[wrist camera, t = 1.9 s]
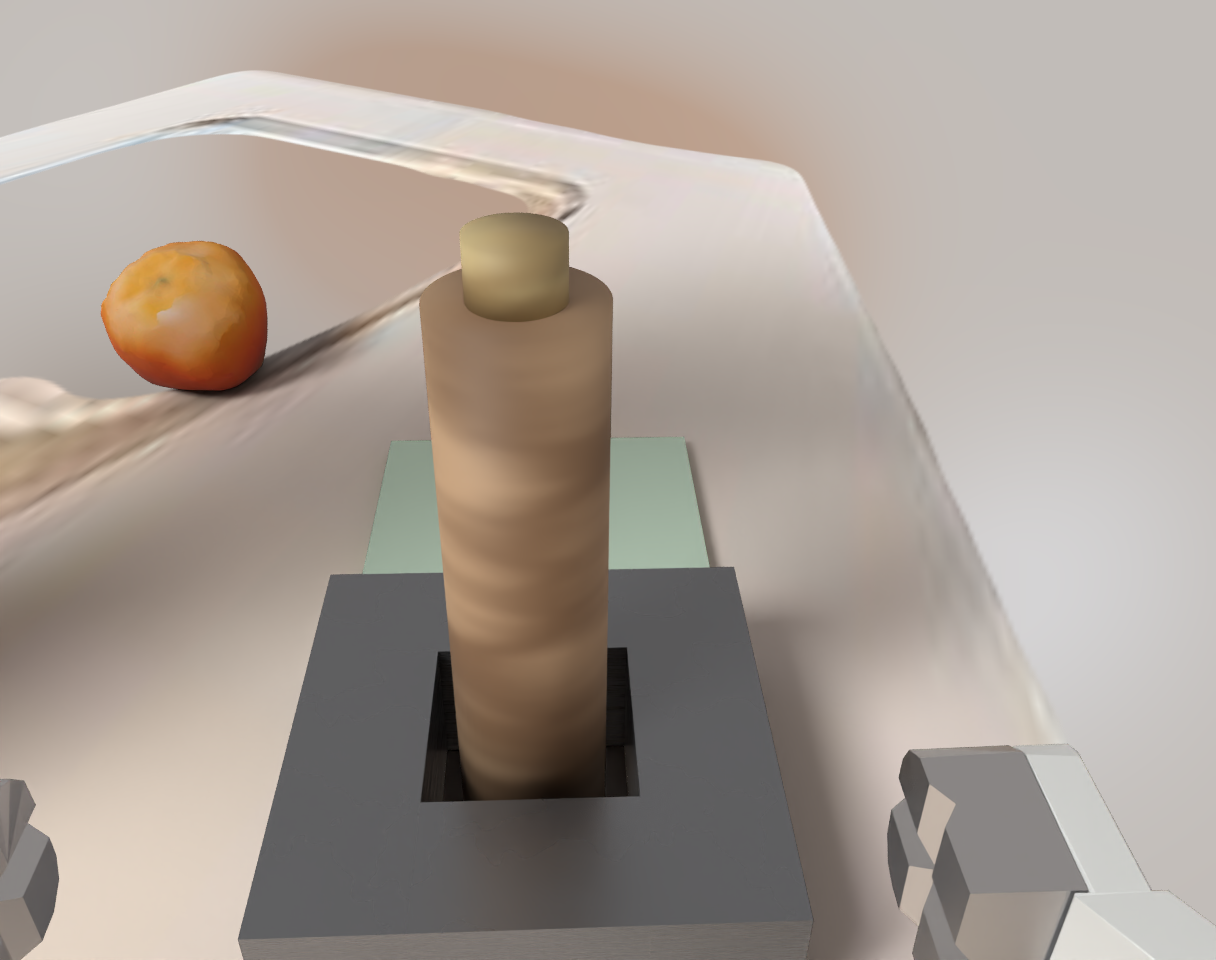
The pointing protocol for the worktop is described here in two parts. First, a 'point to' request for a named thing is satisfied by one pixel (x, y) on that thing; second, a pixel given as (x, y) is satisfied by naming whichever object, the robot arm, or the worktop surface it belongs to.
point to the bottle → (523, 505)
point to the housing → (533, 828)
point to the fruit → (188, 317)
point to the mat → (638, 515)
